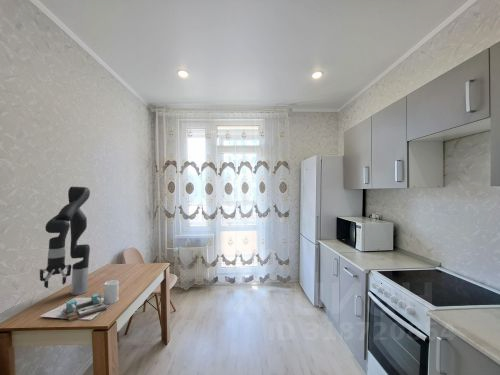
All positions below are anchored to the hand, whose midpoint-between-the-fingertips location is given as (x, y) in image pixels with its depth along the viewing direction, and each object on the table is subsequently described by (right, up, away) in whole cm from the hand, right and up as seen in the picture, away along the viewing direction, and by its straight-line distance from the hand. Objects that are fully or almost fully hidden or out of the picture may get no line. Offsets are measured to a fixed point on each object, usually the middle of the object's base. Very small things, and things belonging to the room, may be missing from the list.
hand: (55, 285), depth 131 cm
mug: (+19, -19, +22) cm, 35 cm away
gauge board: (+11, -18, +8) cm, 23 cm away
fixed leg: (+15, -17, +13) cm, 26 cm away
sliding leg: (+7, -17, +4) cm, 18 cm away
